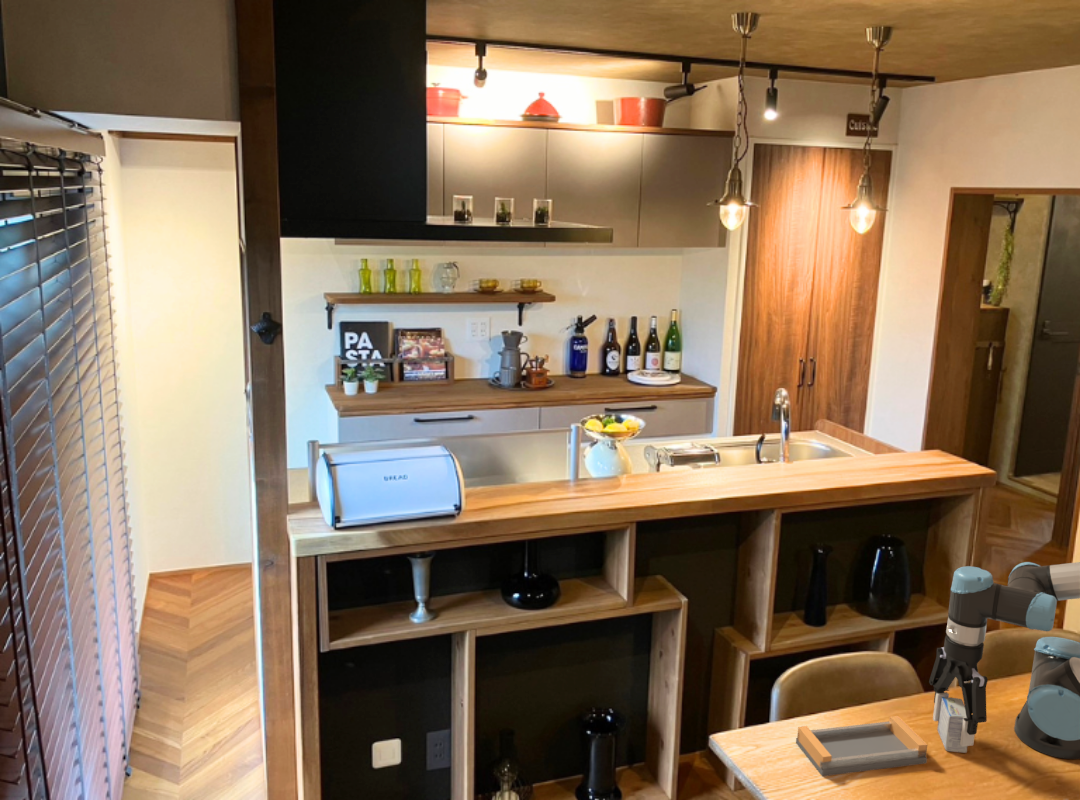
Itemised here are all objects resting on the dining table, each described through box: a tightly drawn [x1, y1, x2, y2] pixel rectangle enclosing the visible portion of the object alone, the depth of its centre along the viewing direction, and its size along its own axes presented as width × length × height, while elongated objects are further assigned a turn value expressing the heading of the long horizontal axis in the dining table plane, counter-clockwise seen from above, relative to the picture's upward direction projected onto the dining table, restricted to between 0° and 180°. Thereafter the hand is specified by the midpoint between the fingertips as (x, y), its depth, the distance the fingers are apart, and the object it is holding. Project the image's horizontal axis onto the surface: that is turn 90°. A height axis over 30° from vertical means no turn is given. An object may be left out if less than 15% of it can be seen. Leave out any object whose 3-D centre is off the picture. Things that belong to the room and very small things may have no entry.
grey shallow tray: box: [795, 715, 928, 777], centre depth 191 cm, size 24×12×4 cm, turn 101°
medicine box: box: [937, 697, 968, 754], centre depth 195 cm, size 8×4×9 cm, turn 169°
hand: (952, 731), depth 195 cm, fingers closed on medicine box, 9 cm apart
